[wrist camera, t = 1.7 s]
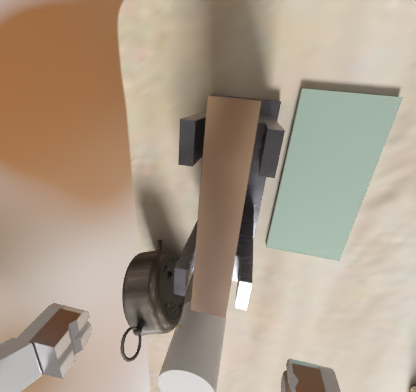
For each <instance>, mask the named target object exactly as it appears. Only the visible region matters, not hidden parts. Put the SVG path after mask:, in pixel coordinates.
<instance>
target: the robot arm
mask: <svg viewBox="0 0 416 392" xmlns="http://www.w3.org/2000/svg"><path fill="white" fill-rule="evenodd" d="M88 319H89V312H88V311H84V310H80V309H76V308H72V307H68V306H65V305H60V304H56V303H53V304H51V305H50V306H48V307H47V308H46V309H45V310H44V311H43V313H41V314H40V316H38V317H37V318H36V319H35V320H34V321H33V322H32V323H31V324H30V325H29V326H28V327H27V328H26V329H25V330H24V331H23V332H22V333H21V334H20V335H19V336H18V337H17V338H11V339H10V340H7V341H5V342H4V343H2V344H0V392H20V391H22V390H23V389H24V388H25V387H27V386H28V385H30V384H31V383H33V382H34V381H35V380H37V379H38V378H39V377H41V376H42V374H45V375H49V376H53V377H58V378H62V379H63V377H64V376H65V375H66V373H67V372H68V370H69V369H70V367H71V366H72V364H73V363H74V362H75V354H76V353H78V352H80V351H81V350H83V348H84V346H85V345H86V344H87V342H88V340H89V337H90V335H91V324H90V323H89V322H88V321H87V320H88ZM286 366H287V370H286V371H284V372H283V376H282V381H281V392H340V388H339V385H338V381H337V378H336V375H335V372H334V371H333V369H331V368H327V367H323V366H318V365H316V364H311V363H307V362H302V361H297V360H293V359H289V360H288V361H287V364H286Z"/></svg>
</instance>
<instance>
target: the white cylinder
mask: <svg viewBox="0 0 416 392" xmlns="http://www.w3.org/2000/svg"><path fill="white" fill-rule="evenodd" d="M225 323H226V317H225V318H223V317H218V316H214V315H209V314H205V313H201V312H196V311H192V310H191V300H190V301H188V302H187V303H186V304H185V305H184V307H183V312H182V316H181V318H180V321H179V323H178V324H177V326H176V329H175V332H174V335H173V338H172V340H171V343H170V346H169V349H168V352H167V355H166V357H165V360H164V363H163V366H162V369H161V372H160V375H159V377H158V387H159V389H160V391H161V392H216V388H217V381H218V374H219V366H220V359H221V352H222V345H223V337H224V330H225Z"/></svg>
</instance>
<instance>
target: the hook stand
mask: <svg viewBox="0 0 416 392" xmlns="http://www.w3.org/2000/svg"><path fill="white" fill-rule="evenodd" d="M210 96H219V97H229V98H239V99H250V100H260V101H261V106H260V112H259V118H258V124H257V130H256V136H255V142H254V148H253V154H252V160H251V166H250V172H249V178H248V184H247V190H246V197H245V203H244V209H243V215H242V221H241V227H240V233H239V239H238V245H237V251H236V257H235V263H234V269H233V275H232V280H234V281H238V282H237V291H236V301H235V308H239V309H243V310H247V305H248V300H249V296H250V291H251V286H252V267H253V238H254V235H255V230H256V225H257V220H258V215H259V210H260V205H261V200H262V195H263V190H264V185H265V180H266V177H271V178H275V174H276V169H277V165H278V160H279V155H280V150H281V146H282V141H283V136H284V132H285V131H284V129H283V128H282V127H281V126H280V125H279V123H278V122H277V119H278V114H279V109H280V104H281V101H271V100H261V99H251V98H240V97H230V96H220V95H210ZM205 123H206V112H203V113H200V114H196V115H193V116H189V117H186V118H182V119H180V139H179V165H186V166H194V164H195V163H196V162H197V161H198V160H199V159H200V158H201V157H202V156H203V148H204V135H205ZM197 223H198V220H197V222H196V224H195V226H194V229H193V231H192V233H191V235H190V237H189V239H188V241H187V243H186V245H185V247H184V249H183V251H182V253H181V255H180V258H179V260H178V262H177V264H176V266H175V271H174V294H176V295H180V296H185V293H186V291H187V288H188V285H189V282H190V280H191V277H192V274H193V272H194V260H195V248H196V235H197Z"/></svg>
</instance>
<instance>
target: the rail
mask: <svg viewBox="0 0 416 392" xmlns="http://www.w3.org/2000/svg"><path fill="white" fill-rule="evenodd" d="M260 106H261V101H260V100H250V99H239V98H229V97H219V96H208V98H207V110H206V123H205V135H204V148H203V160H202V173H201V185H200V198H199V210H198V223H197V235H196V248H195V260H194V273H193V285H192V298H191V310H192V311H196V312H201V313H205V314H209V315H214V316H218V317H223V318H225V317H226V311H227V305H228V299H229V293H230V287H231V281H232V275H233V269H234V263H235V257H236V251H237V245H238V239H239V233H240V227H241V221H242V215H243V209H244V203H245V197H246V190H247V184H248V178H249V172H250V166H251V160H252V154H253V148H254V142H255V136H256V130H257V124H258V118H259V112H260Z"/></svg>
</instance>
